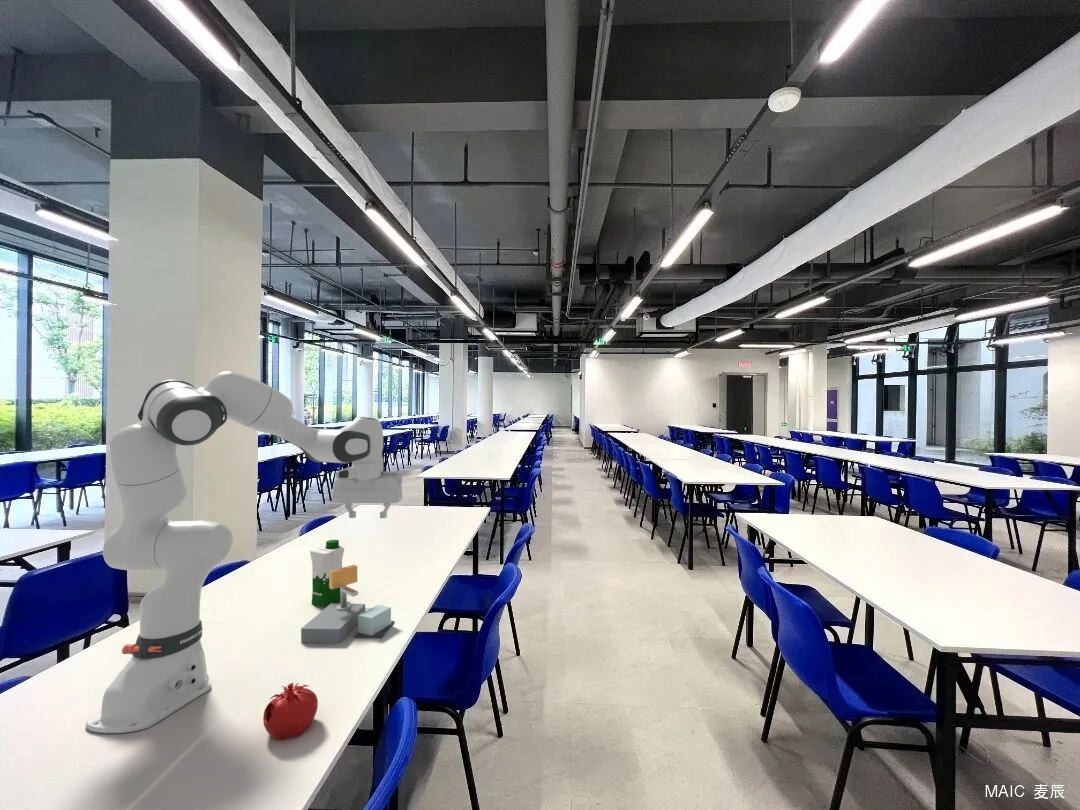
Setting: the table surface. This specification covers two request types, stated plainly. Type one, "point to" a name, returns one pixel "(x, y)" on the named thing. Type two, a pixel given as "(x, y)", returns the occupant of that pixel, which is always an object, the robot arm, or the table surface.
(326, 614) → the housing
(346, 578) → the key
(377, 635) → the mat
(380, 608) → the pale blue block
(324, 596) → the milk carton
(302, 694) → the pomegranate
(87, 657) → the table surface
